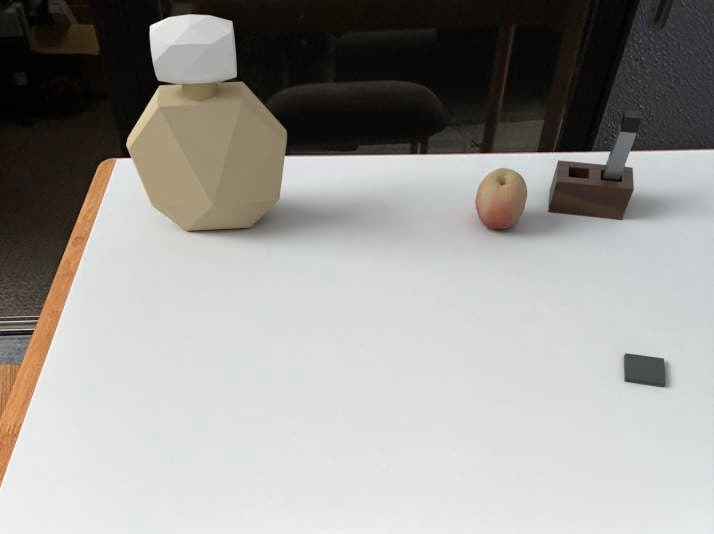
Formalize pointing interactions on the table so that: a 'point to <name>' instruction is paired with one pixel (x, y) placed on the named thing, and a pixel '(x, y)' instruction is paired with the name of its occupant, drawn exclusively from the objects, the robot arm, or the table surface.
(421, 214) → the table surface
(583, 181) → the holder
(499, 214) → the fruit
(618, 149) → the grey square peg
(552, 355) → the table surface
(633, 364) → the mat
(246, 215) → the perfume bottle
